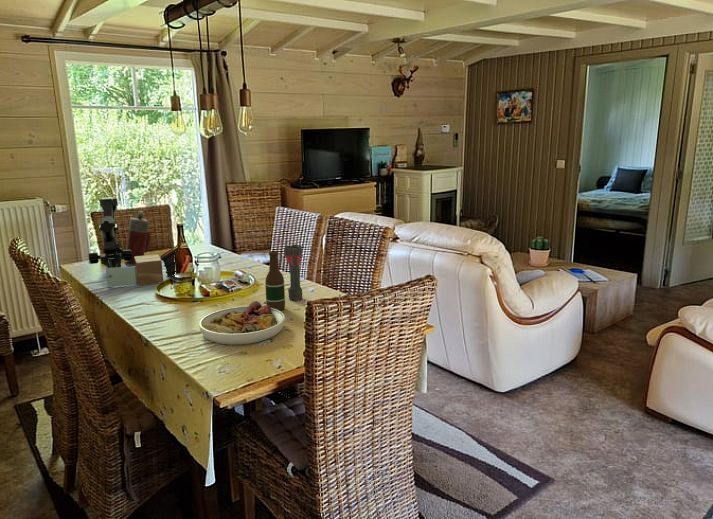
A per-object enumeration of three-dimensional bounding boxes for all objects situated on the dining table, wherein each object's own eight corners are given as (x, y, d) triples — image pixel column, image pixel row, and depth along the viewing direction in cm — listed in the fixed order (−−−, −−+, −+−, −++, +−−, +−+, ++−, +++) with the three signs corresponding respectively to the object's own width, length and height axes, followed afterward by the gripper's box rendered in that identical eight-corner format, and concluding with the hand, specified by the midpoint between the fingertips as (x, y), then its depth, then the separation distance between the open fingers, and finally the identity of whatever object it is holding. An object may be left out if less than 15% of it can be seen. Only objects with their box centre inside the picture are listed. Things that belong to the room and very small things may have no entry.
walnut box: (136, 278, 268) (134, 256, 265) (159, 275, 272) (157, 254, 270) (139, 285, 255) (136, 262, 252) (163, 282, 259) (161, 260, 257)
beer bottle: (289, 307, 220) (286, 250, 214) (280, 313, 213) (277, 254, 207) (272, 305, 222) (269, 248, 217) (262, 311, 215) (259, 252, 210)
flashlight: (293, 294, 237) (291, 243, 232) (307, 297, 234) (305, 245, 228) (282, 299, 231) (279, 246, 226) (297, 301, 227) (294, 248, 222)
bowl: (269, 350, 177) (268, 328, 175) (184, 345, 182) (182, 323, 181) (295, 320, 206) (294, 300, 204) (221, 316, 211) (220, 297, 209)
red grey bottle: (147, 263, 301) (154, 213, 298) (125, 261, 295) (133, 210, 292) (145, 260, 309) (152, 211, 305) (124, 257, 303) (131, 208, 300)
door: (107, 287, 251) (105, 268, 248) (108, 286, 252) (106, 267, 250) (137, 286, 253) (135, 266, 251) (138, 284, 255) (136, 265, 253)
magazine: (195, 269, 277) (181, 245, 270) (174, 284, 271) (158, 260, 264) (192, 267, 280) (178, 244, 273) (171, 282, 274) (155, 258, 267)
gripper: (86, 236, 249) (88, 264, 242) (130, 233, 256) (133, 260, 249) (88, 249, 258) (90, 277, 250) (130, 246, 265) (134, 273, 258)
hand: (112, 271), depth 252 cm, fingers closed
